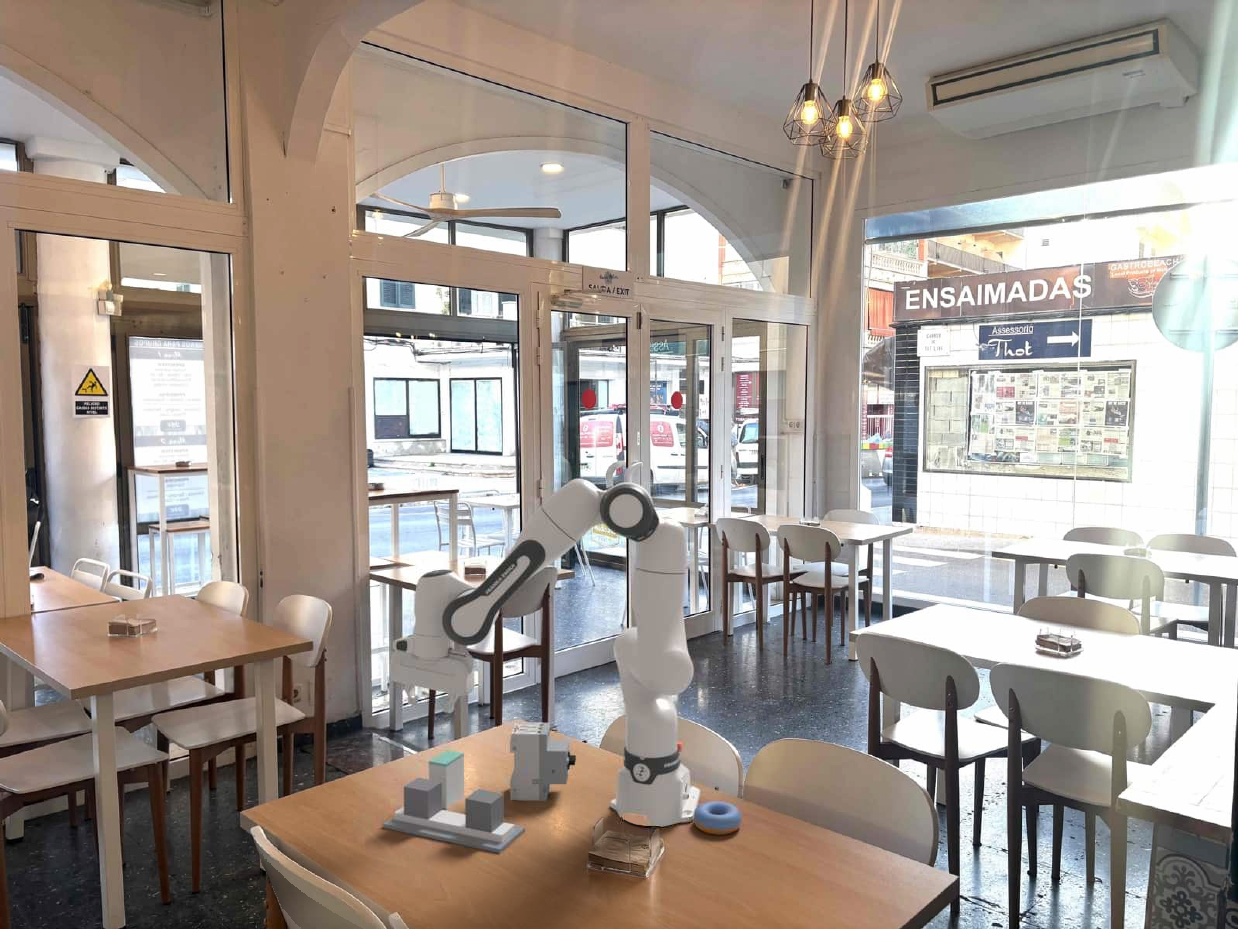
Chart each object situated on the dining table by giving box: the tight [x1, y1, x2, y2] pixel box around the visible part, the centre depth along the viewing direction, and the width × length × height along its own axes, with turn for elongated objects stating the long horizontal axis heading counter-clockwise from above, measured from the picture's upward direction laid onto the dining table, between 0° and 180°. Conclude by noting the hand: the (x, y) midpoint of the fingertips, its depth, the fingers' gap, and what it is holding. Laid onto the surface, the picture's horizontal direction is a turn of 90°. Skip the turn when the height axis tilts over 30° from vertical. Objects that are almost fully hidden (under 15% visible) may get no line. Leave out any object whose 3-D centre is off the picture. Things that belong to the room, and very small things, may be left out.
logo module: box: [428, 749, 465, 810], centre depth 197 cm, size 4×7×10 cm, turn 157°
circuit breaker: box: [509, 722, 577, 802], centre depth 201 cm, size 8×14×15 cm, turn 89°
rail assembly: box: [382, 777, 526, 854], centre depth 184 cm, size 10×28×8 cm, turn 67°
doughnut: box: [693, 800, 742, 836], centre depth 186 cm, size 10×10×5 cm
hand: (430, 708), depth 192 cm, fingers open, 8 cm apart
